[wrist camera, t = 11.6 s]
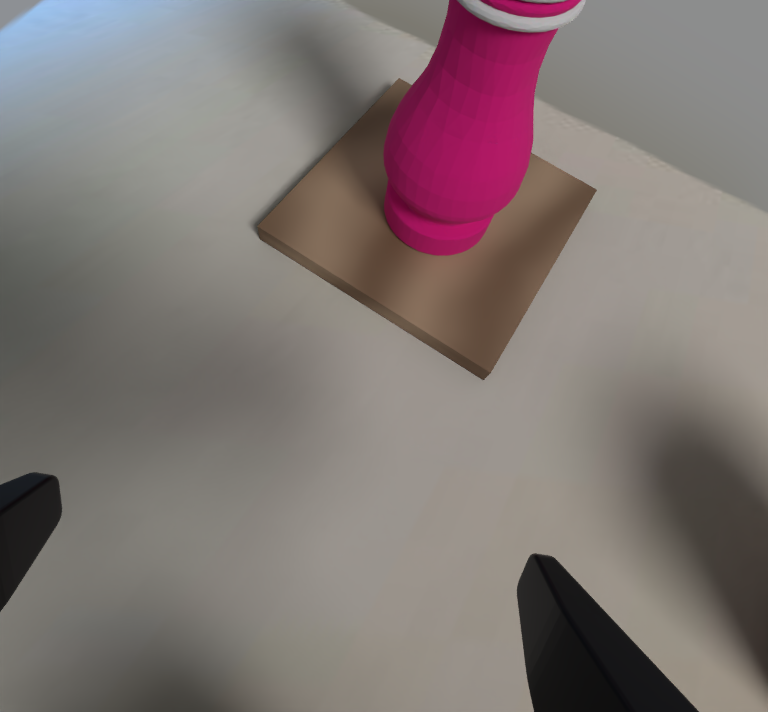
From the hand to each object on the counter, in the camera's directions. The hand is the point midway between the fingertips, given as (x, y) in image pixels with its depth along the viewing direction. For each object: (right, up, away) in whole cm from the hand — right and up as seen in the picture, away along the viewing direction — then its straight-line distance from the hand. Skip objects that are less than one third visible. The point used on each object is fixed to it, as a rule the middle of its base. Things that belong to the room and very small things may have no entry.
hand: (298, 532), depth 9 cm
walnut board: (+5, +12, +20) cm, 23 cm away
